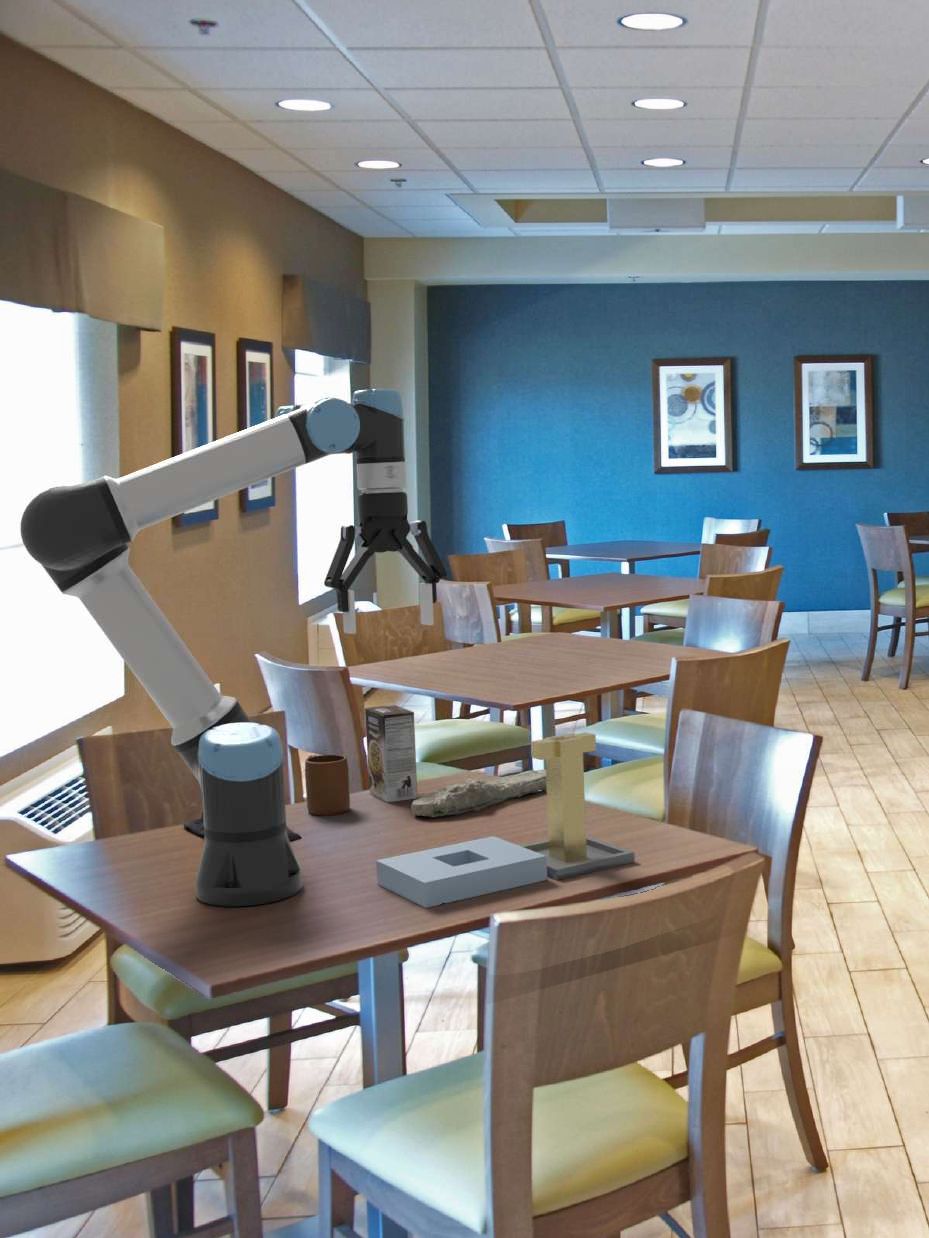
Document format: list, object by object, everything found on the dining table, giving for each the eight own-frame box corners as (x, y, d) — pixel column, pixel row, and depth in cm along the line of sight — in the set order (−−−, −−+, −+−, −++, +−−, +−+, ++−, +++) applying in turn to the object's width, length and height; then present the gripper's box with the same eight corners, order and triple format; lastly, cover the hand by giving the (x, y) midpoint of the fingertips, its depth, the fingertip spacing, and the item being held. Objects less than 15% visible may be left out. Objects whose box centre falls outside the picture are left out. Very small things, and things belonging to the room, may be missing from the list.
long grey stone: (577, 793, 254) (538, 789, 261) (576, 765, 254) (537, 761, 261) (437, 822, 230) (398, 816, 237) (435, 790, 230) (397, 786, 237)
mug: (292, 805, 248) (288, 754, 247) (330, 798, 252) (328, 748, 251) (317, 818, 238) (313, 765, 237) (357, 811, 241) (354, 758, 240)
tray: (557, 879, 196) (556, 869, 196) (503, 858, 208) (503, 849, 207) (634, 861, 203) (634, 852, 203) (578, 842, 215) (578, 833, 215)
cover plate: (425, 907, 186) (424, 882, 185) (377, 883, 198) (376, 860, 197) (547, 879, 196) (546, 855, 196) (494, 858, 208) (493, 836, 208)
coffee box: (368, 793, 255) (363, 707, 253) (400, 788, 258) (395, 703, 256) (386, 803, 247) (381, 714, 245) (419, 798, 249) (414, 710, 248)
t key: (548, 865, 201) (543, 744, 199) (532, 859, 204) (527, 740, 202) (602, 853, 206) (598, 735, 204) (586, 847, 209) (582, 731, 208)
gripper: (319, 494, 201) (327, 638, 203) (464, 487, 214) (470, 622, 216) (297, 495, 208) (305, 634, 210) (440, 488, 220) (446, 619, 223)
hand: (389, 629), depth 213 cm, fingers open, 13 cm apart
